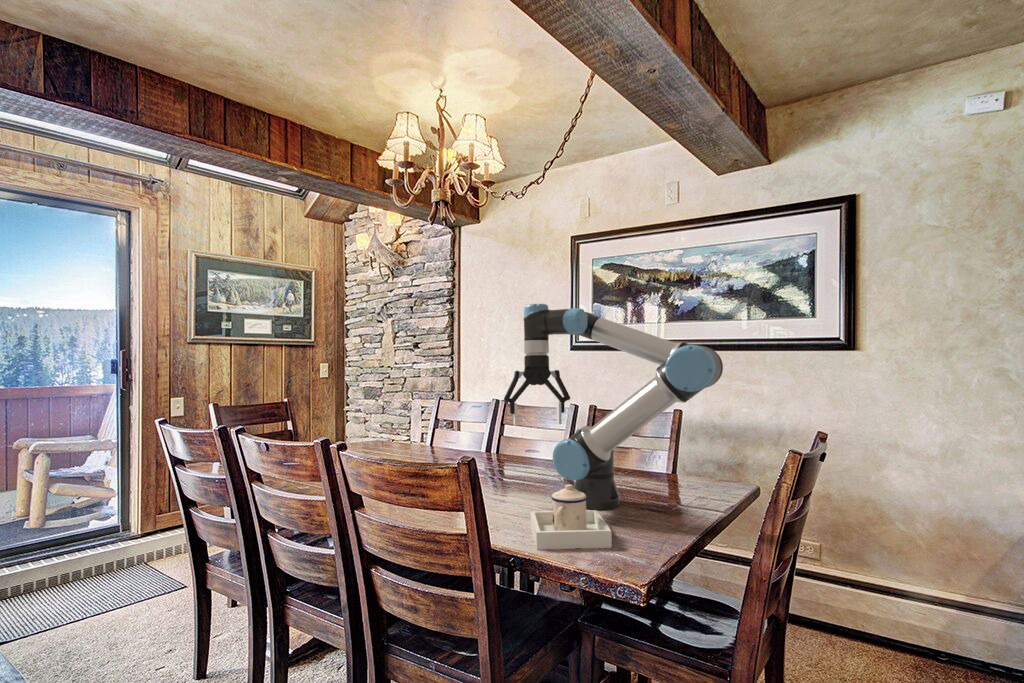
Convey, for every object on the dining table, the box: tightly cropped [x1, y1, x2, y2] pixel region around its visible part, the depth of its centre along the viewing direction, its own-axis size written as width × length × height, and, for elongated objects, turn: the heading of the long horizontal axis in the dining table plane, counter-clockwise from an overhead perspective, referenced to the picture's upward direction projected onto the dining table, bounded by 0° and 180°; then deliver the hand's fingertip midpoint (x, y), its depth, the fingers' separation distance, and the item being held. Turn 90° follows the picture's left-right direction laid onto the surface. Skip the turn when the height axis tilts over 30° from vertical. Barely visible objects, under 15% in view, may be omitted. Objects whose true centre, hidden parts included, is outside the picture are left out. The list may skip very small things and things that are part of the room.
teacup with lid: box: [551, 484, 587, 531], centre depth 140 cm, size 12×9×12 cm
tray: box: [530, 509, 613, 550], centre depth 139 cm, size 18×18×4 cm
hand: (537, 424), depth 167 cm, fingers open, 13 cm apart
